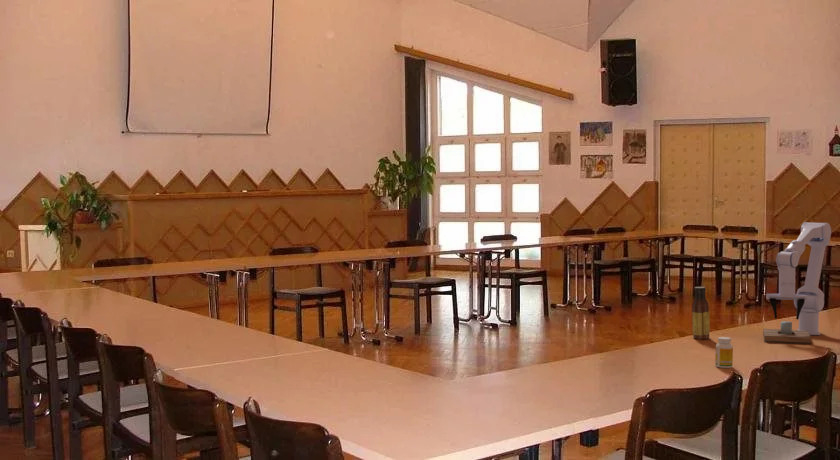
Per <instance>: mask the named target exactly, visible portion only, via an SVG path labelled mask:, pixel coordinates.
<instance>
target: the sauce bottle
mask: <svg viewBox="0 0 840 460" xmlns="http://www.w3.org/2000/svg"><path fill="white" fill-rule="evenodd" d="M694 292H695V293H694V300H693V302H692V307H691V309H692V310H691V314H692V317H691V318H692V319H691V320H692V321H691V322H692V336H693V338H694V339H695V340H707V339H710V311H709V310H710V308H709V306H710V305H709V302H708V301H707V299H706V286H694Z"/></svg>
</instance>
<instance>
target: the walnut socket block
mask: <svg viewBox="0 0 840 460" xmlns="http://www.w3.org/2000/svg"><path fill="white" fill-rule="evenodd" d="M762 330H763V331H762V333H763V334H762V335H763V342H764V343H775V344H776V343H777V344H798V345H800V344H801V345H811V341H812V340H811V339H812V338H811V335H809V333H808V331H807V330H797V329H792V335H791V334H781V328H778V329H777V328H763V329H762Z"/></svg>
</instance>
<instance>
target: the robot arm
mask: <svg viewBox="0 0 840 460" xmlns="http://www.w3.org/2000/svg"><path fill="white" fill-rule="evenodd" d="M831 236H832V227H831V226H830V223H828V222H807V221H804V222H803V223H802V224H801V226H800V234H799V235H798V237H797V239H794V240H791V242H790V243H789V244H788V245H787V247H786V248H785V249H784V250H783V251H782V250H781V251H780V252H778V253H777V255H776V258H775V262H776V265H777V271H778V293H766V296H765V297H766V300H769V303H770V305H771V308H772V311H773V315H774V319H776V320H777V317H778V314H777V305H778V303H777V300H781V301H782V300H783V301H785V300H786V301H787V300H788V301H790V300H791V301H793V304H794V307H795V309H796V314H795V315H796V316H795V319H796V320H798V328H797V329H796V330H807V331H808V333H809V335H810V336H821V333H820V329H819V323H820V322H819V319H820V312H821V311H822V310H823V308H824V305H825V293H824V292H823V291H822V290H821V289H820V288H819V283H820V278H821V273H822V267H823V262H824V257H825V250H826V247H827V246H829V245H830V241H831ZM806 245H809V246H810V248H811V249H810V254H809V259H808V264H807V268H806V269H807V270H806V274H805V280H804V285H803V286H800V287H799V288H797V291H796V267H798V265H799V261H800V259H801V258H800V257H801V255H802V254H803V253H804V252H805V250H806V247H805V246H806Z"/></svg>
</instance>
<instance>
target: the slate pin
mask: <svg viewBox="0 0 840 460" xmlns="http://www.w3.org/2000/svg"><path fill="white" fill-rule="evenodd" d="M780 329H781V334H791V335H792V330H793V322H791V321H785V320H784V321H780Z"/></svg>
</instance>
